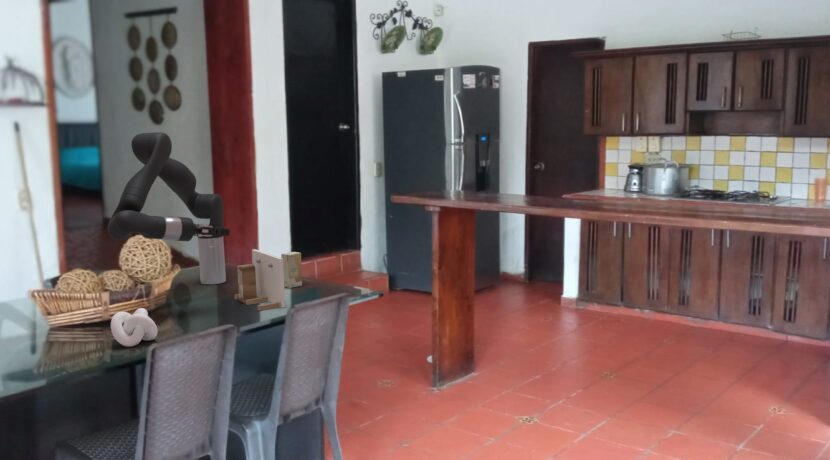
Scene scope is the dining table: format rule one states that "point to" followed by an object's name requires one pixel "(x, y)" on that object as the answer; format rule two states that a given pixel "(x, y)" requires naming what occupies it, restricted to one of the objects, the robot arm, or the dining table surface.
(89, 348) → the dining table surface
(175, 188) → the robot arm
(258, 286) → the white upright flat panel
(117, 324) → the white knot sculpture
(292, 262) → the skincare box
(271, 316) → the dining table surface
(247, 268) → the frame block
